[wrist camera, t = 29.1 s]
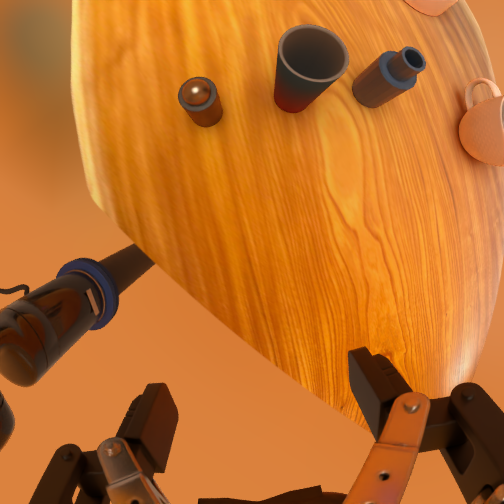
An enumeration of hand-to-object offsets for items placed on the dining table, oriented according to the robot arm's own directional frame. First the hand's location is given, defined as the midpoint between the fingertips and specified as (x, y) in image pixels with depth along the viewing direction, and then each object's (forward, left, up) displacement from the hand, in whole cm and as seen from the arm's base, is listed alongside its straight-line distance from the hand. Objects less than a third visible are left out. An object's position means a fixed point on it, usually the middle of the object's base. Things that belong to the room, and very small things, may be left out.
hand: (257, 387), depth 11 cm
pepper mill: (-2, +20, -30) cm, 36 cm away
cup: (+10, +20, -30) cm, 38 cm away
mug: (+42, +13, -30) cm, 53 cm away
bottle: (+22, +20, -30) cm, 42 cm away
